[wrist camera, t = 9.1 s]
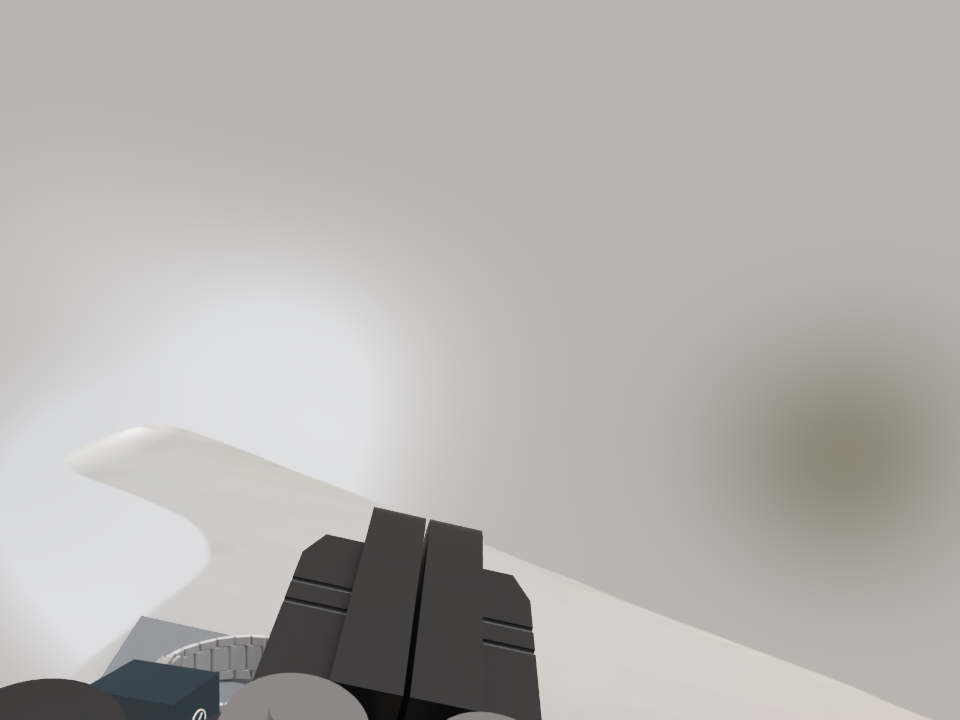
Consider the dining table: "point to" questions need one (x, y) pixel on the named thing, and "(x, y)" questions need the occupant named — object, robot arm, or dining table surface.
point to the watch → (183, 679)
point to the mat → (167, 648)
